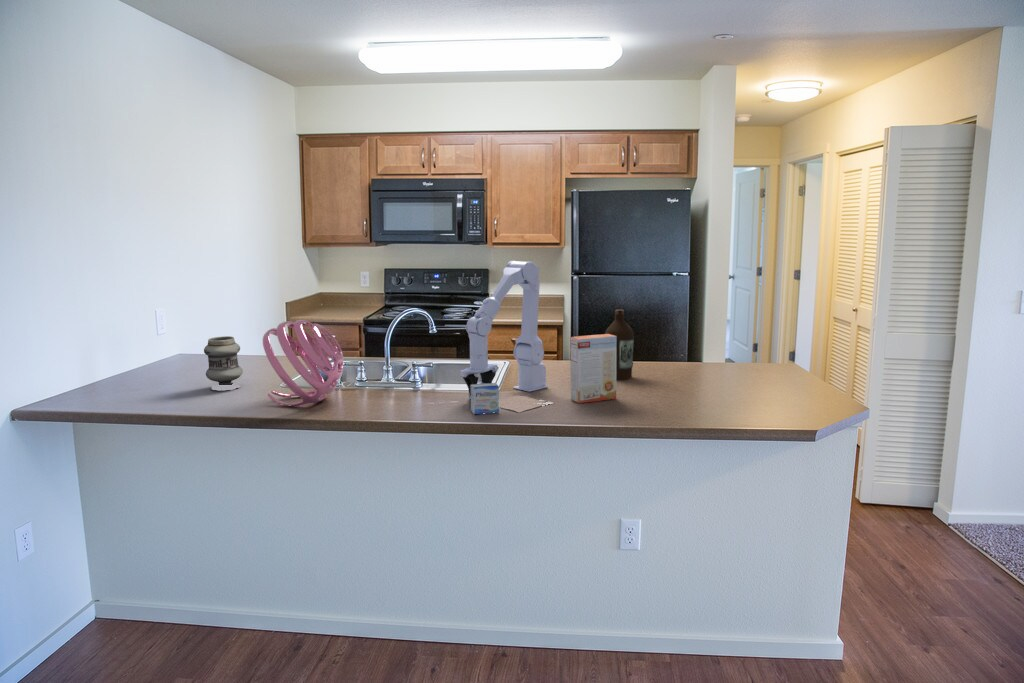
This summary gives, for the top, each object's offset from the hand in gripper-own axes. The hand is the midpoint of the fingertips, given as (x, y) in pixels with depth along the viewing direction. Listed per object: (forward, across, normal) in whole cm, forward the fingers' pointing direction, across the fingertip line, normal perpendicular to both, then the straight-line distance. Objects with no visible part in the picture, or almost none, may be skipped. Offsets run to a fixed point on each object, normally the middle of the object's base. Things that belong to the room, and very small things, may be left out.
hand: (479, 395), depth 232 cm
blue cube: (+1, 0, 0) cm, 1 cm away
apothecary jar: (+2, -51, +77) cm, 92 cm away
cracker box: (+2, +25, -27) cm, 37 cm away
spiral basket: (+2, -41, +38) cm, 56 cm away
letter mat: (+1, +5, -13) cm, 14 cm away
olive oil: (+2, +57, -13) cm, 58 cm away
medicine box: (+2, -10, -13) cm, 16 cm away
